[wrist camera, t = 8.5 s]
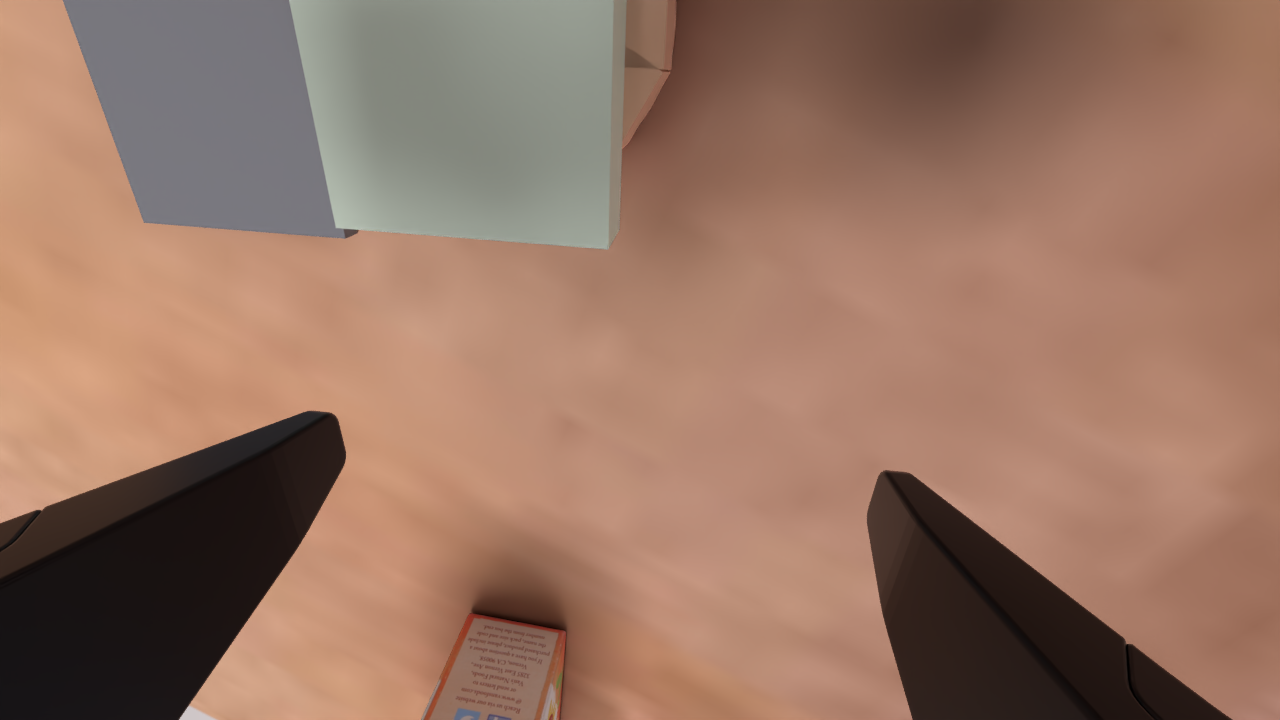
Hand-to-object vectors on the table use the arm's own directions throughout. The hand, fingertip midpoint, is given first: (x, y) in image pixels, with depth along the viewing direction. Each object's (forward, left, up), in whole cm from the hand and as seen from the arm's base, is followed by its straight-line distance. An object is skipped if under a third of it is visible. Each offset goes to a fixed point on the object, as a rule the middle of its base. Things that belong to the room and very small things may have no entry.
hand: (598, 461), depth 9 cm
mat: (+16, -5, -12) cm, 21 cm away
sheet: (+5, -7, -8) cm, 12 cm away
